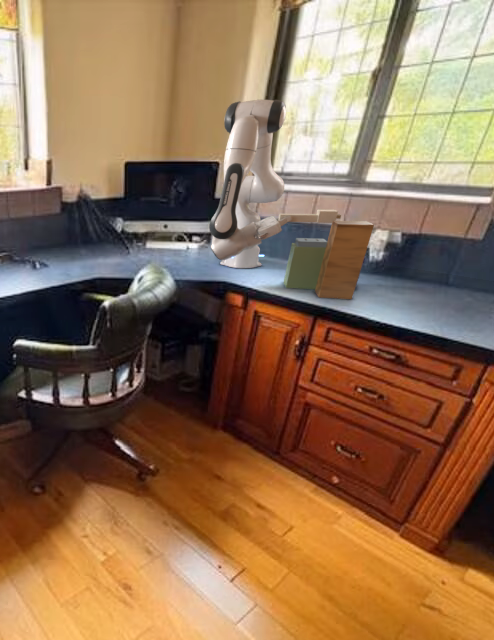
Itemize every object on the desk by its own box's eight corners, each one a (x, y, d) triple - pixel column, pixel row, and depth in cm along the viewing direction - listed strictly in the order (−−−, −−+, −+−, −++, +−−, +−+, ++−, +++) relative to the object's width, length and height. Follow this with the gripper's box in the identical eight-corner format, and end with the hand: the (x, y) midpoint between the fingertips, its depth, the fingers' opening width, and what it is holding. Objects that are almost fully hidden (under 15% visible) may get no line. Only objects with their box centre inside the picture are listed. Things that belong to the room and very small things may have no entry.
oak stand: (314, 291, 163) (332, 220, 151) (346, 293, 161) (367, 221, 148) (318, 297, 157) (337, 224, 144) (351, 299, 154) (374, 224, 141)
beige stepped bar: (277, 220, 163) (280, 209, 161) (336, 221, 158) (339, 209, 156) (279, 222, 159) (281, 210, 157) (340, 223, 154) (343, 211, 152)
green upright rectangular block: (283, 282, 175) (293, 237, 166) (315, 284, 172) (326, 238, 163) (286, 287, 169) (296, 241, 160) (318, 289, 165) (331, 242, 157)
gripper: (252, 231, 156) (291, 212, 150) (249, 223, 173) (283, 205, 167) (258, 247, 158) (297, 228, 151) (254, 237, 175) (289, 220, 169)
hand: (290, 216), depth 159 cm, fingers closed on beige stepped bar, 3 cm apart
